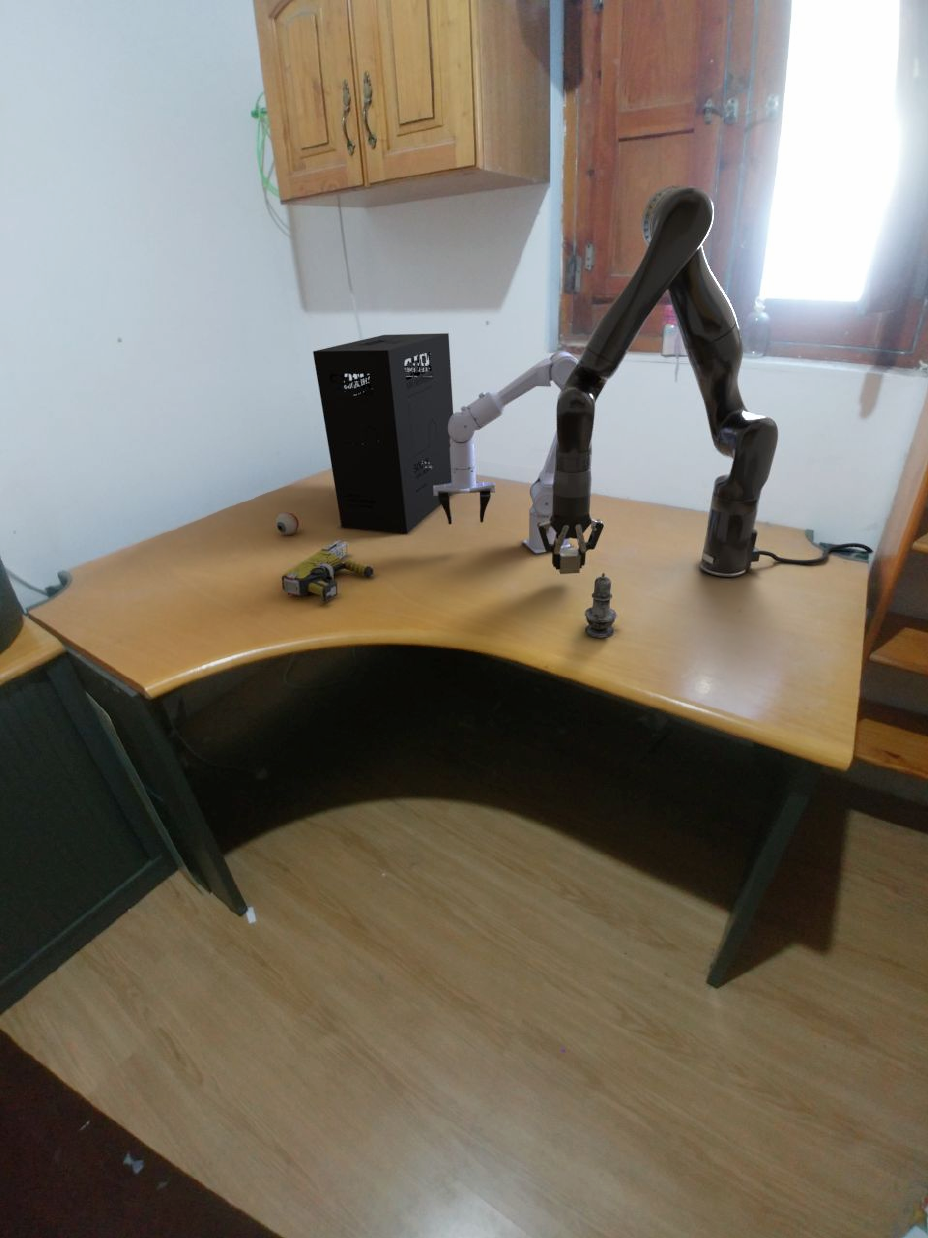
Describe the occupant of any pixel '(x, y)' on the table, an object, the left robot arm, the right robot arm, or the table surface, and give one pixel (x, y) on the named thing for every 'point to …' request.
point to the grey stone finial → (600, 610)
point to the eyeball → (287, 523)
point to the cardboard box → (387, 427)
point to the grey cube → (569, 561)
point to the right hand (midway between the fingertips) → (568, 567)
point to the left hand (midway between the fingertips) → (465, 521)
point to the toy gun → (321, 572)
